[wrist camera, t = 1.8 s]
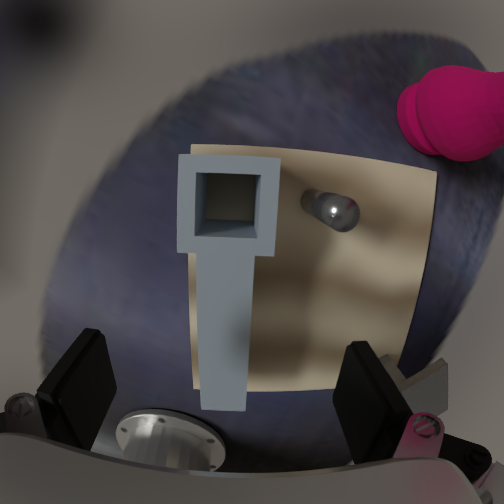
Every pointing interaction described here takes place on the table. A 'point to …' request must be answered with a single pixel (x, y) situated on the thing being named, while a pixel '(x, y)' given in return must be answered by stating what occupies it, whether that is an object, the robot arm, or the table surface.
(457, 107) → the pepper mill
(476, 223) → the table surface
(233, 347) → the link
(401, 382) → the block
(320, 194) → the post
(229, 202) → the base board
